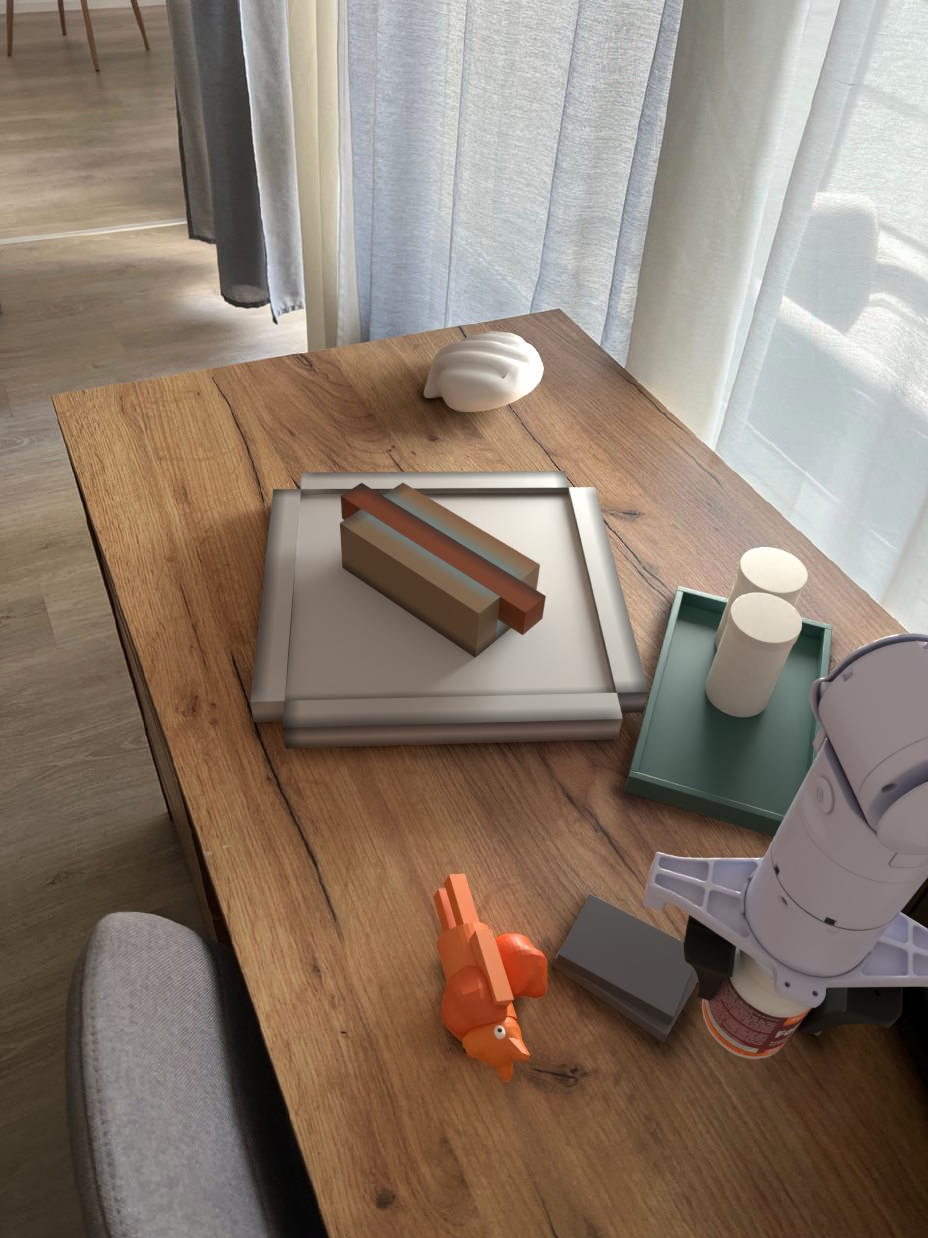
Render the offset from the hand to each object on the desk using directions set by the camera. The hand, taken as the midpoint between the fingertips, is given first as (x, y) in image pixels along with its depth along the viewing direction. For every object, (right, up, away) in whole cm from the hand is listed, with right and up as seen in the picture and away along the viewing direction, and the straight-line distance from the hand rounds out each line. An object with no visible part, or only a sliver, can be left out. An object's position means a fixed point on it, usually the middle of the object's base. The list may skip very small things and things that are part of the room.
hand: (754, 997), depth 51 cm
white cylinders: (+7, +16, +28) cm, 33 cm away
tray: (+6, +13, +25) cm, 29 cm away
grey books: (-1, -2, +10) cm, 11 cm away
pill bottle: (0, -2, +2) cm, 3 cm away
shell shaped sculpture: (-13, +45, +55) cm, 72 cm away
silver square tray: (-17, +21, +32) cm, 42 cm away
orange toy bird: (-14, -3, +9) cm, 17 cm away
